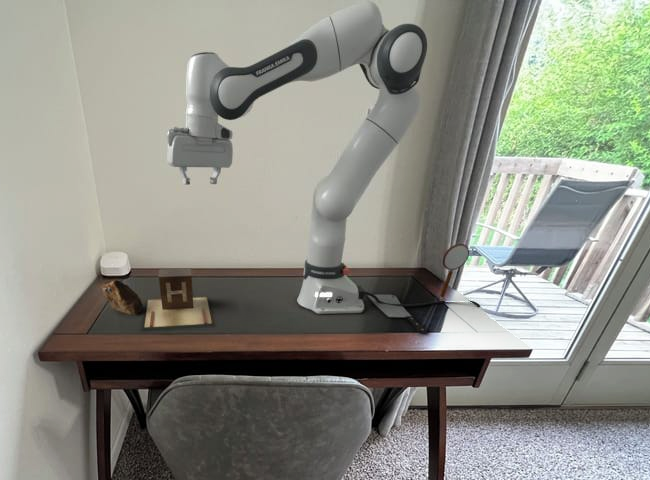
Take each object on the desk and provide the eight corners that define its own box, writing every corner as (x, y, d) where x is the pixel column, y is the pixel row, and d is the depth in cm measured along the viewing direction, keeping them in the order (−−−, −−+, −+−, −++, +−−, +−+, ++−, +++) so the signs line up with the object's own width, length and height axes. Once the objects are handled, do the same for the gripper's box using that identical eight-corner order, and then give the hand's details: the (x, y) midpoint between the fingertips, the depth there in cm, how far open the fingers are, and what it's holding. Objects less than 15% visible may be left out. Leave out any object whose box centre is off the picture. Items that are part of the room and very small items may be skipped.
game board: (206, 299, 124) (206, 296, 123) (212, 325, 107) (212, 322, 106) (148, 302, 121) (147, 298, 120) (144, 329, 104) (144, 326, 104)
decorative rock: (104, 311, 114) (98, 279, 108) (117, 304, 119) (111, 273, 113) (135, 318, 110) (129, 285, 104) (146, 311, 115) (142, 279, 109)
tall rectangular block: (192, 299, 121) (190, 268, 115) (193, 308, 115) (191, 276, 109) (162, 301, 120) (159, 269, 114) (162, 310, 114) (158, 277, 108)
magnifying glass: (430, 302, 124) (449, 244, 113) (427, 300, 126) (446, 243, 115) (453, 301, 125) (474, 244, 114) (450, 299, 127) (471, 243, 116)
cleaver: (397, 333, 104) (430, 333, 104) (397, 332, 104) (431, 332, 104) (366, 295, 129) (393, 295, 129) (366, 293, 128) (394, 294, 129)
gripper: (173, 127, 90) (174, 186, 98) (237, 132, 101) (233, 185, 109) (162, 125, 94) (163, 182, 102) (224, 130, 105) (221, 181, 113)
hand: (200, 184), depth 106 cm, fingers open, 8 cm apart
